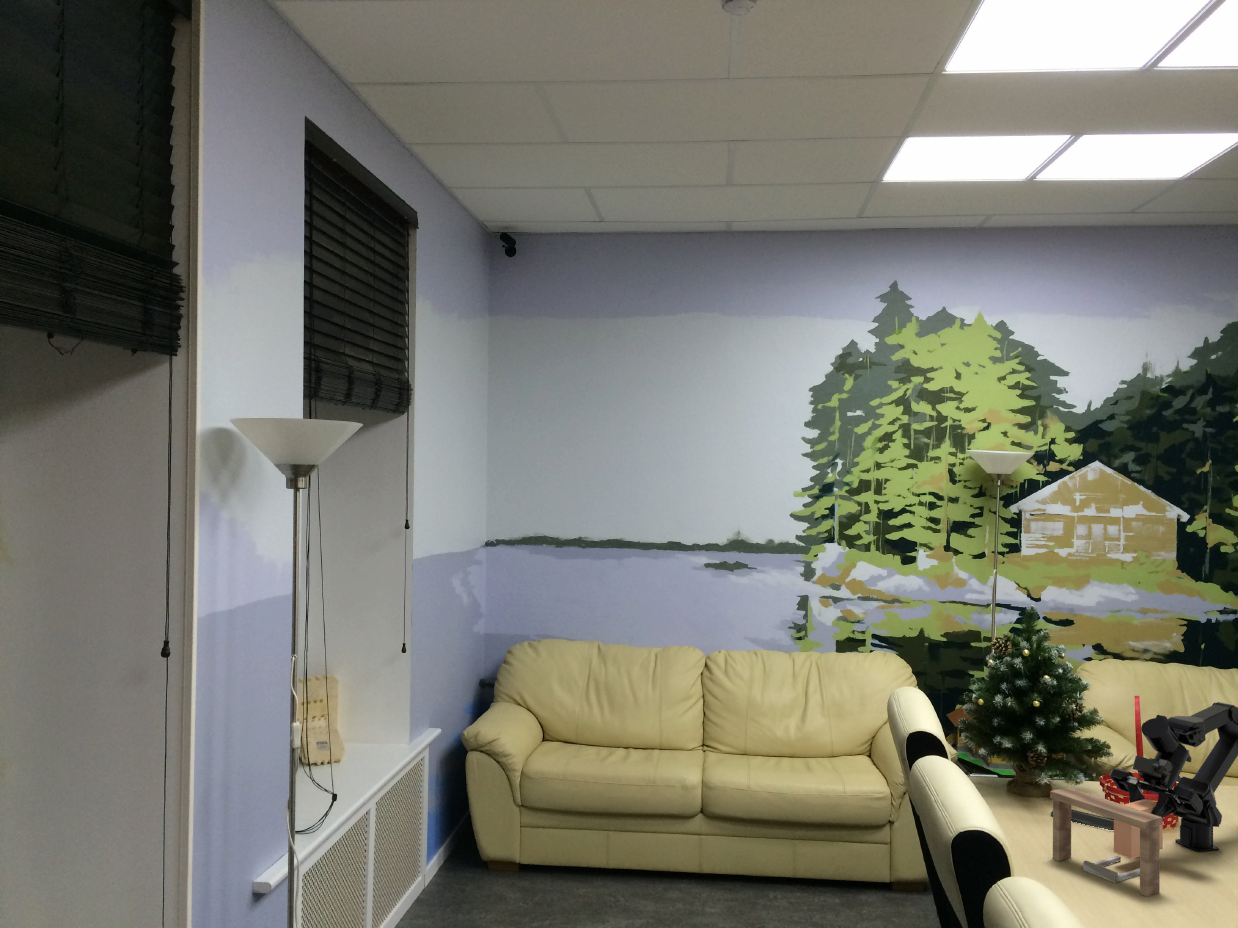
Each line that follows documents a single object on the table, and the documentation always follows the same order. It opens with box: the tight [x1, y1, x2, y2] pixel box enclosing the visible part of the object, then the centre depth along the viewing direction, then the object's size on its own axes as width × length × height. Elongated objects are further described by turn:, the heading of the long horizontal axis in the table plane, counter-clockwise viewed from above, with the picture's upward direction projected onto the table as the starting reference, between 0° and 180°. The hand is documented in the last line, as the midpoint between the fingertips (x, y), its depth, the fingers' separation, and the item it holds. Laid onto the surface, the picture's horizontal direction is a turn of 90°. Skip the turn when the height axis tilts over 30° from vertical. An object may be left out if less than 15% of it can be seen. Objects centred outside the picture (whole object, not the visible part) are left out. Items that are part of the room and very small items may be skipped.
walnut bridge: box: [1049, 786, 1162, 898], centre depth 197 cm, size 14×22×16 cm, turn 29°
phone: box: [1050, 808, 1114, 830], centre depth 229 cm, size 8×1×15 cm
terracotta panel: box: [1113, 798, 1164, 860], centre depth 202 cm, size 12×4×10 cm, turn 119°
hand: (1139, 820), depth 202 cm, fingers closed on terracotta panel, 4 cm apart
